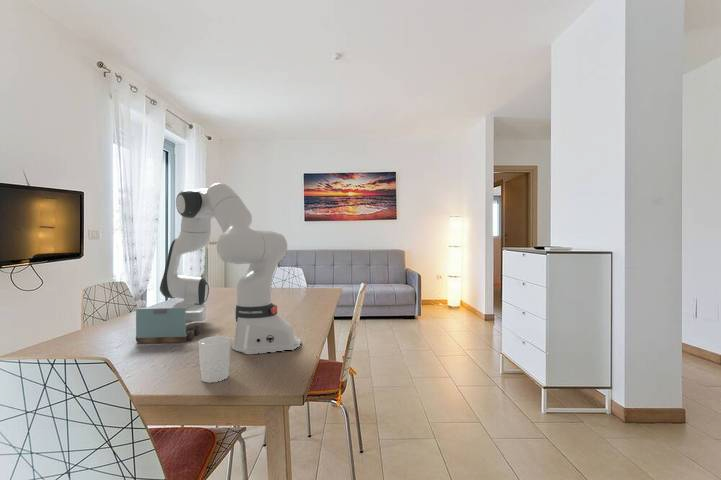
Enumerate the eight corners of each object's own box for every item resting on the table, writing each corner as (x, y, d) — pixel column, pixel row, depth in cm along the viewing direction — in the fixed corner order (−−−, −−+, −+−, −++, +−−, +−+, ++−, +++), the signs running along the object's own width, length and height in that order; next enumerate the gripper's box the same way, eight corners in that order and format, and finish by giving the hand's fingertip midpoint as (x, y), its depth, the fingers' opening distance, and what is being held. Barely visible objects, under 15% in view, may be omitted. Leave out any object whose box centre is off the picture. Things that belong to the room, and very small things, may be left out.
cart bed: (200, 333, 143) (200, 324, 143) (189, 341, 131) (188, 332, 131) (151, 334, 141) (151, 325, 141) (135, 343, 129) (135, 334, 129)
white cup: (224, 384, 93) (224, 344, 93) (192, 383, 93) (192, 344, 93) (235, 372, 101) (235, 335, 101) (206, 372, 101) (206, 335, 101)
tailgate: (185, 335, 131) (185, 307, 131) (183, 337, 129) (183, 308, 129) (137, 337, 129) (137, 308, 129) (135, 338, 127) (135, 309, 127)
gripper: (156, 305, 148) (138, 312, 134) (209, 304, 150) (197, 310, 136) (156, 321, 148) (138, 329, 134) (209, 319, 150) (197, 327, 136)
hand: (168, 319), depth 135 cm, fingers closed
